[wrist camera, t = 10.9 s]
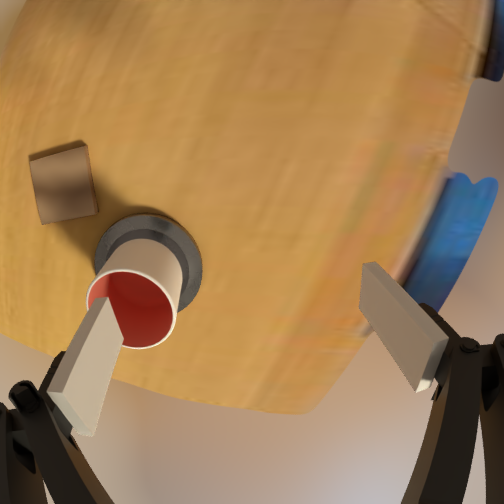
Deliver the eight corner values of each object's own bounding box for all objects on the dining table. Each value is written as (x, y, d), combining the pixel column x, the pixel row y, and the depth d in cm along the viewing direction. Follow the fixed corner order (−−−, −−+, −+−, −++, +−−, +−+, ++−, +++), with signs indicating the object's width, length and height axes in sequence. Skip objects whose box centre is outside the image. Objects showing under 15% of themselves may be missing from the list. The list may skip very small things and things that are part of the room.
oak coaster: (33, 160, 33) (29, 161, 32) (87, 145, 33) (83, 146, 32) (45, 222, 36) (41, 224, 35) (98, 212, 37) (95, 214, 36)
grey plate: (98, 207, 37) (94, 210, 35) (209, 220, 39) (209, 224, 38) (100, 304, 42) (96, 310, 40) (196, 318, 44) (196, 325, 43)
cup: (198, 281, 40) (195, 324, 31) (142, 315, 41) (127, 361, 32) (152, 220, 37) (133, 249, 27) (97, 261, 38) (68, 298, 28)
